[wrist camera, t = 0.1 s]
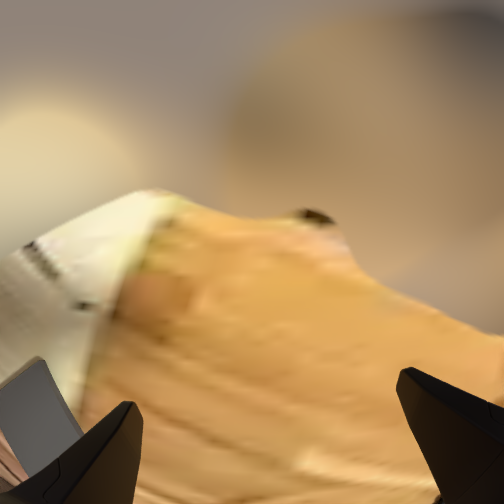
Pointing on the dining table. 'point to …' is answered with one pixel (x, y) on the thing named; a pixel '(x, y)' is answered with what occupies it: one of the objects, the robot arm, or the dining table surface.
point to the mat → (36, 419)
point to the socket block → (4, 486)
